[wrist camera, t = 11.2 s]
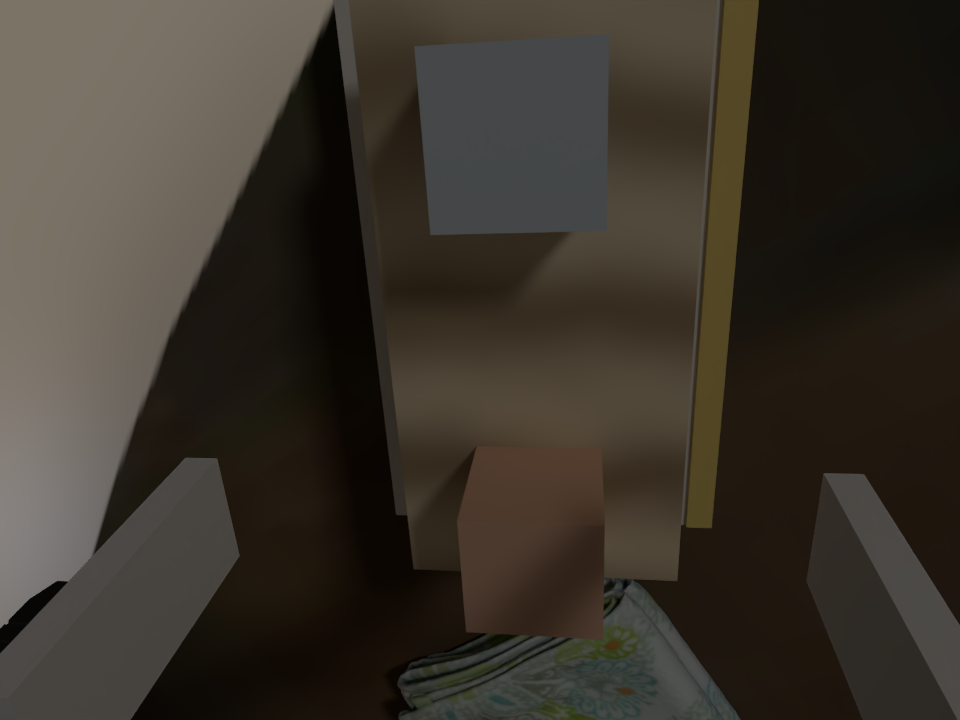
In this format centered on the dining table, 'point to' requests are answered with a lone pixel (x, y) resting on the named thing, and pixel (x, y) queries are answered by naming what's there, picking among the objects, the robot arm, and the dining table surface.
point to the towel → (571, 673)
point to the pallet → (546, 276)
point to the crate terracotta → (533, 542)
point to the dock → (714, 258)
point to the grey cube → (515, 134)
